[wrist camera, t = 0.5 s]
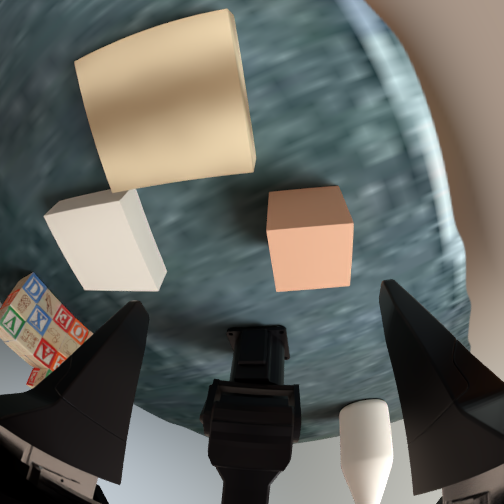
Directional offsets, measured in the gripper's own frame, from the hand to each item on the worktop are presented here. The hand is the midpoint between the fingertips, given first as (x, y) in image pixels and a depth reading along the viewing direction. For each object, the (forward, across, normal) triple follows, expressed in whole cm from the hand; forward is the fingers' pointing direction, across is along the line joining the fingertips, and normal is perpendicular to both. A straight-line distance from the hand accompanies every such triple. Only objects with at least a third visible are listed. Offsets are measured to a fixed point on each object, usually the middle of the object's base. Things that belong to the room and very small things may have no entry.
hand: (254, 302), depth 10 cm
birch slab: (+12, +5, -7) cm, 15 cm away
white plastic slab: (+12, +15, +3) cm, 20 cm away
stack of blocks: (+13, +32, +17) cm, 38 cm away
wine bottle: (+13, -12, +46) cm, 49 cm away
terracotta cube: (+12, -2, +4) cm, 13 cm away
